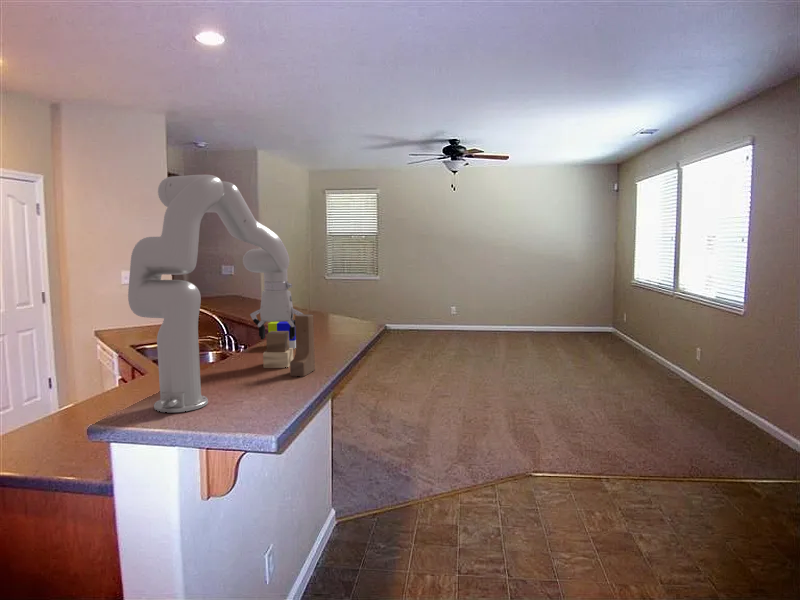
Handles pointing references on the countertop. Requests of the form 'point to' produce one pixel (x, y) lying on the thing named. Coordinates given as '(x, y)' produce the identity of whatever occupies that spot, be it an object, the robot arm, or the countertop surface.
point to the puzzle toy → (282, 327)
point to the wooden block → (303, 346)
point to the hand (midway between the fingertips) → (277, 338)
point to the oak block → (277, 359)
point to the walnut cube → (277, 341)
